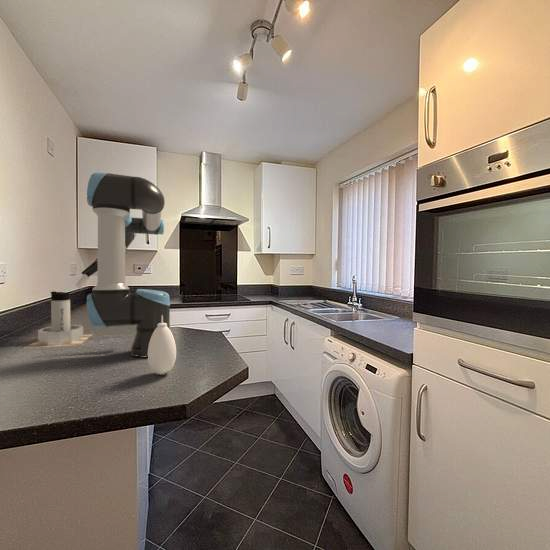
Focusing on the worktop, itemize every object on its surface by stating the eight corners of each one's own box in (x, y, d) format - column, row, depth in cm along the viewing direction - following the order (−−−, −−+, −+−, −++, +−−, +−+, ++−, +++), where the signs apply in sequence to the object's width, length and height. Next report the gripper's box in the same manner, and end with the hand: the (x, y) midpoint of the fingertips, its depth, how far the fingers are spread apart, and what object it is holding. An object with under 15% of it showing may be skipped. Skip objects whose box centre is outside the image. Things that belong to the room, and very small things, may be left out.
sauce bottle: (159, 381, 83) (159, 317, 82) (142, 375, 87) (142, 315, 86) (181, 373, 89) (181, 314, 89) (164, 368, 93) (164, 311, 93)
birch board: (78, 348, 114) (78, 344, 114) (23, 351, 109) (23, 348, 109) (93, 337, 131) (93, 334, 131) (45, 339, 126) (45, 336, 126)
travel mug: (57, 338, 123) (56, 290, 122) (73, 338, 123) (73, 291, 123) (46, 342, 117) (46, 292, 116) (64, 342, 117) (64, 292, 117)
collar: (75, 344, 115) (75, 331, 115) (31, 346, 111) (31, 333, 111) (87, 335, 129) (87, 324, 129) (48, 337, 125) (48, 325, 125)
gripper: (138, 254, 141) (115, 290, 128) (101, 258, 150) (76, 292, 137) (128, 243, 135) (102, 279, 122) (90, 248, 145) (63, 282, 132)
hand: (88, 286), depth 130 cm, fingers open, 13 cm apart
